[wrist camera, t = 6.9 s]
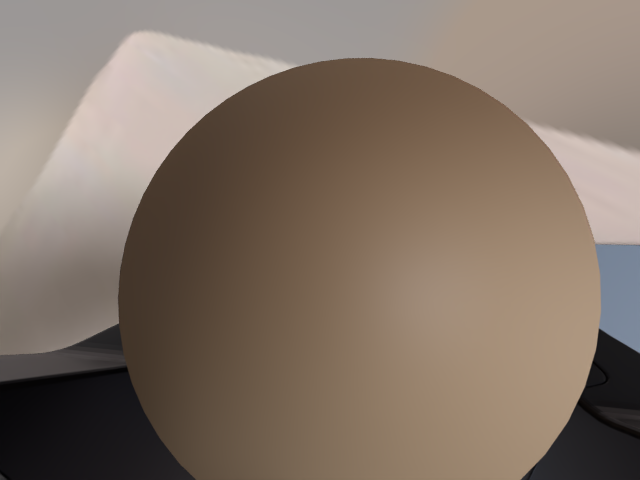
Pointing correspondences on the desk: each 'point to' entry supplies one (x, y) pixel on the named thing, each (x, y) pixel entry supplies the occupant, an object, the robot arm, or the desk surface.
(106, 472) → the robot arm
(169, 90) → the desk surface
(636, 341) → the board
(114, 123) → the desk surface
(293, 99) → the tan wooden peg
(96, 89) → the desk surface
